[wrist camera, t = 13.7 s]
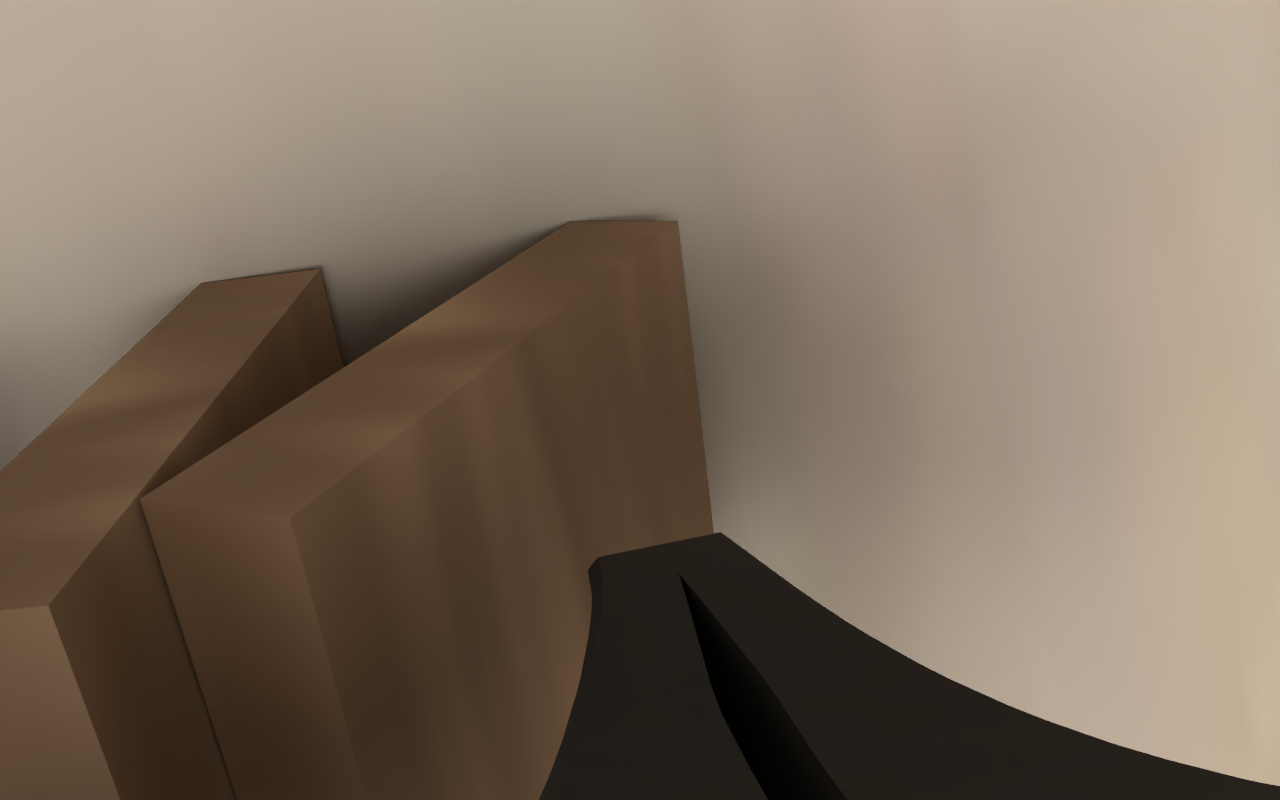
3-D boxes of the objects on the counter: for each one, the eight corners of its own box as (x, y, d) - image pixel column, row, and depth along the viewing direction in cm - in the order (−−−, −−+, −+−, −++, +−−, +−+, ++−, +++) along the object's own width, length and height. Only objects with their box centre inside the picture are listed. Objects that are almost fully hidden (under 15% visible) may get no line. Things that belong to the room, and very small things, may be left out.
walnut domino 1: (320, 268, 16) (48, 605, 9) (397, 591, 18) (227, 1085, 11) (201, 282, 16) (-166, 628, 9) (290, 602, 18) (50, 1101, 11)
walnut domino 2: (677, 220, 16) (289, 518, 10) (715, 547, 18) (414, 979, 12) (570, 221, 17) (140, 499, 10) (617, 536, 19) (282, 938, 12)
